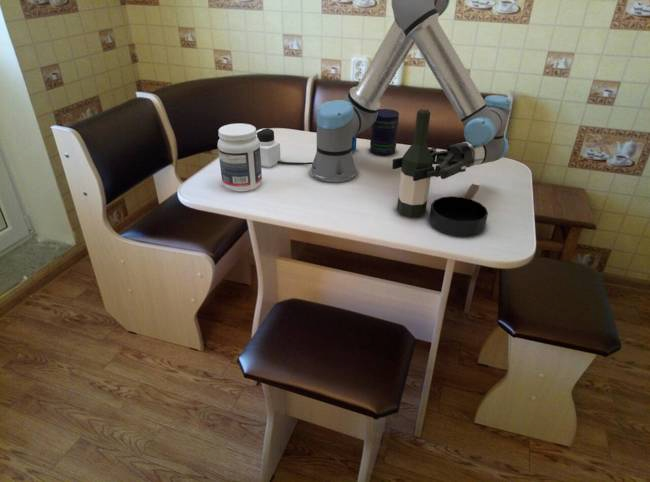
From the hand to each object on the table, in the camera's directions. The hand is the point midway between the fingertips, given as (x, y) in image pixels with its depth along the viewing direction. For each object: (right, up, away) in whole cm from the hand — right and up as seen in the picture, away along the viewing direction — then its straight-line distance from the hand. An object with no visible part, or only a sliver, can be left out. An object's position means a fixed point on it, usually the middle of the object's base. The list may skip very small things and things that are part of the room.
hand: (403, 170), depth 123 cm
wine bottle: (+4, -11, +10) cm, 15 cm away
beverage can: (-13, +15, +51) cm, 54 cm away
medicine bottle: (-42, +9, +39) cm, 58 cm away
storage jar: (+1, +15, +50) cm, 52 cm away
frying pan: (+18, -12, +8) cm, 23 cm away
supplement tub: (-48, -1, +24) cm, 54 cm away
